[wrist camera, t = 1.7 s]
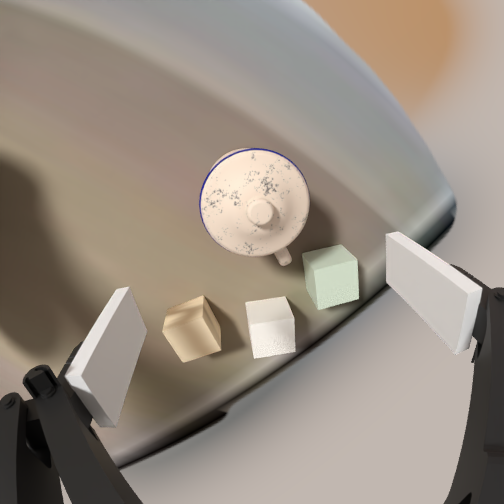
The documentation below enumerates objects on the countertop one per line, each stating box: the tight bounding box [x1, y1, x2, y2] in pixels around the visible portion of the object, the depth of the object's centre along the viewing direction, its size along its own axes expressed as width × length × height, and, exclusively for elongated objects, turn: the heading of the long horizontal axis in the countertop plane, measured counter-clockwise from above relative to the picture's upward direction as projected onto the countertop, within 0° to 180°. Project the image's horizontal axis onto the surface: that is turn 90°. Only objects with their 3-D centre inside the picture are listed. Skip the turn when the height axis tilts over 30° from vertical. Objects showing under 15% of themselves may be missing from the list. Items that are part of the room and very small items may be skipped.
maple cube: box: [162, 295, 221, 363], centre depth 36 cm, size 5×5×5 cm
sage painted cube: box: [302, 244, 359, 310], centre depth 35 cm, size 5×5×5 cm
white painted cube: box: [245, 297, 295, 358], centre depth 37 cm, size 5×5×5 cm
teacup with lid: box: [199, 148, 310, 266], centre depth 28 cm, size 12×9×12 cm
